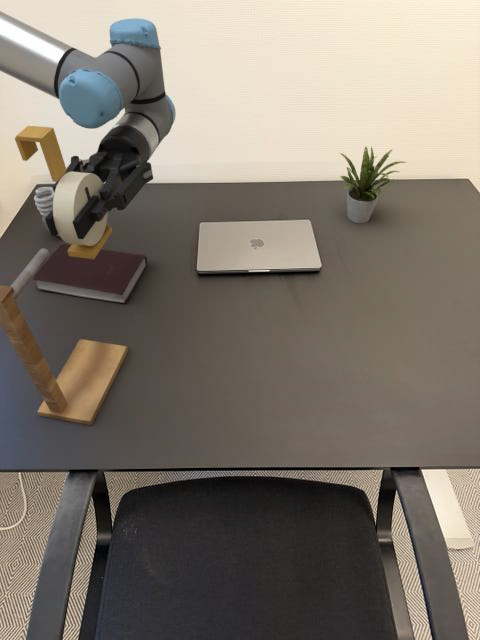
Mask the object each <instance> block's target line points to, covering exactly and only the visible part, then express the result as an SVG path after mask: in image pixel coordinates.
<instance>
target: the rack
mask: <svg viewBox="0 0 480 640" xmlns="http://www.w3.org/2000/svg"><path fill="white" fill-rule="evenodd" d="M50 256H51V253H50V251H49V250H48V249H47V248H45V247H42V248H40V249H39V250H37V252H36V254H35V255H34V256H33V257H32V258H31V260H30V261H29V263H28V264H27V265H26V266H25V268H24V269H23V270H22V271H21V272H20V274H19V275H18V276H17V277H16V278H15V280H14V281H13V282H12V284H10V286H9V285H3V284H2V285H1V284H0V325H1V327H2V329H3V331H4V333H5V334H6V336H7V338H8V340H9V341H10V343H11V345H12V347H13V348H14V350H15V352H16V353H17V356H18V358H20V360H21V362H22V365H24V368H25V369H26V371H27V373H28V375H29V376H30V377H31V380H32V381H33V383H34V385H35V387H36V389H37V390H38V392H39V394H40V395H41V398H42V399H43V401H42V403H41V404H40V406H39V408H38V410H37V413H38V415H39V416H40V417H45V418H50V419H55V420H61V421H66V422H72V423H77V424H82V425H86V426H87V425H88V426H93V424H94V422H95V420H96V418H97V416H98V415H99V412H100V410H101V408H102V406H103V404H104V402H105V399H106V397H107V395H108V393H109V392H110V389H111V387H112V385H113V384H114V381H115V379H116V376H117V375H118V372H119V371H120V368H121V367H122V364H123V362H124V361H125V358H126V356H127V354H128V352H129V347H128V346H126V345H122V344H121V345H120V344H114V343H108V342H102V341H96V340H89V339H83V338H79V340H78V342H77V343H76V345H75V347H74V348H73V350H72V352H71V353H70V355H69V357H68V358H67V360H66V362H65V364H64V365H63V367H62V369H61V371H60V372H59V374H58V375H57V377H56V378H55V375H54V373H53V371H52V370H51V368H50V366H49V364H48V362H47V359H46V358H45V356H44V354H43V352H42V350H41V348H40V346H39V344H38V343H37V340H36V339H35V336H34V334H33V333H32V330H31V328H30V327H29V325H28V323H27V320H26V318H25V317H24V315H23V313H22V311H21V309H20V307H19V305H18V303H17V301H16V300H17V299H18V297H19V295H20V294H21V293H22V292H23V291H24V289H25V288H26V287H27V285H28V284H29V283H30V281H31V280H33V277H34V275H35V274H36V273H37V272H38V270H39V269H40V268H41V267H42V265H43V264H44V263H45V262H46V261H47V260H48V259H49V257H50Z"/></svg>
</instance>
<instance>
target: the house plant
mask: <svg viewBox="0 0 480 640" xmlns="http://www.w3.org/2000/svg"><path fill="white" fill-rule="evenodd" d="M392 152H393V149H390V150H389V151H387V152H386V153H384V155H383V156H382V157H381V158H380V160H379V161H378V162H377V164H376V165H374V164H375V159H376V158H378V155H376V156H375V154H374V149H373V146H370V155H369V148H368V147H367V146H365V147H364V149H363V153H362V161H361V167H360V173H359V175H358V172H357V170H356V167H355V165H354V163H353V161H352V160H351V159H350V158H349V157H347V155H345V154H344V153H341V152H339V154H340V155H341V156H342V157H343V158H344V159H345V160H346V162H347V164H348V166H349V167H348V166H346V170H347V175H341V176H340V178H341V179H342V180H343V181H344V182H346V183H347V184H346V185H345V186H344V187H343V189H347V192H346V193H347V194H346V207H347V209H346V212H347V213H346V216H347V219H348V220H349V221H350V222H354V223H355V224H364V223H367V222H369V221H370V220H371V216H372V215H373V212H374V209H375V207H376V205H377V202H378V200H379V198H380V194H381V193H382V189H381V188H382V187H384V186H385V185H387V184H389V183H393V182H400V180H399V179H390V178H389V176H388V175H391V174H393V173H400V171H399V170H390V171H388V172H386V173H384V172H385V171H386V170H388V169H389V168H391V167H394V166H395V165H398V164H405V163H407V161H402V160H401V161H392V162H391V163H389V164H387V165H386V166H384V167H383V168H382V166H383V165H384V164H385V162H386V161H387V159H388V158H389V157H390V154H391V153H392ZM381 168H382V169H381ZM380 169H381V170H380ZM379 176H381V177H380V178H379V179H378V177H379ZM376 179H377V180H376ZM382 182H383V183H382ZM380 183H381V184H380ZM378 184H380V185H379V186H377V185H378ZM375 186H377V187H376V188H374V187H375Z"/></svg>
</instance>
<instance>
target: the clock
mask: <svg viewBox="0 0 480 640" xmlns="http://www.w3.org/2000/svg"><path fill="white" fill-rule="evenodd" d="M14 141H15V144H16V146H17V149H18V152H19V154H20V157H21V160H22V161H23V162H24V161H25V162H27V161H29V160H30V159H31V158H32V157H33V156H34V155H35V154H36V153H37V152H38V151H39V148H38V144H37V143H39V146H40V149H41V152H42V154H43V158H44V160H45V162H46V166H47V168H48V172H49V174H50V178H51V180H52V182H54V183H56V182H57V181H58V180H59V179H60V178H61V177H62V178H61V179H60V180H59V182H58V184H57V186H56V189H55V193H54V199H52V200H53V205H52V206H53V217H54V223H55V227H56V229H57V232H58V234H59V236H58V237H60V239H61V240H62V241H64V243H65V244H70V245H71V246H70V248H69V249H68V251H67V252H68V255H69V256H72V257H80V258H88V259H95V257H96V256H97V254H98V253H99V251H100V250H101V249H103V247H104V245H105V244H106V242H107V240H108V239H109V238H110V236H111V235H112V233H113V227H112V225H107V223H108V217H109V211H108V212H107V213H106V215H105V216H104V217H103V219H102V220H101V221H99V222H97V221H96V222H95V224H94V225H93V226H92V228H91V229H90V231H89V232H88V233H87V235H86V236H85V237H84V239H78V237H77V234H76V231H75V228H74V225H73V220H74V219H75V218H76V217H77V215H78V214H79V213H80V211H81V210H82V209H83V208H84V206H85V205H86V204H87V202H88V201H89V200H90V199H91V197H92V196H93V195H96V196H98V197H99V199H100V194H99V191H98V190H100V191H101V190H102V189H103V187H104V183H102V181H101V179H100V178H99V177H98V176H97V175H95V174H92V173H81V172H68V173H66V174H64V173H65V172H66V171H67V170H66V169H67V166H66V163H65V161H64V158H63V154H62V150H61V147H60V144H59V141H58V138H57V134H56V131H55V128H54V127H50V126H38V125H37V126H36V125H27V126H26V127H25V128H24V129H22V130H21V131H20V132H19V133H18V134H16V135H15V137H14ZM63 174H64V175H63Z"/></svg>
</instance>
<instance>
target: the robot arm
mask: <svg viewBox="0 0 480 640" xmlns="http://www.w3.org/2000/svg"><path fill="white" fill-rule="evenodd" d="M108 32H109V39H110V40H109V44H110V45H111V47H110V48H108V49H106V50H105V51H104V52H102V53H101V54H99V55H98V56H92V55H90V54H88V53H87V52H84V51H82V50H80V49H77V48H75V47H73V46H71V45H69V44H67V43H65V42H63V41H62V40H60V39H57V38H55V37H53V36H51V35H49V34H47V33H45V32H43V31H41V30H39V29H37V28H35V27H33V26H31V25H29V24H27V23H25V22H23V21H21V20H19V19H17V18H16V17H14V16H11V15H9V14H7V13H5V12H3V11H1V10H0V72H2V73H3V74H5V75H8V76H10V77H12V78H14V79H16V80H18V81H20V82H22V83H24V84H26V85H28V86H30V87H33V88H34V89H36V90H39V91H41V92H43V93H45V94H46V95H49V96H51V97H53V98H55V99H57V100H59V103H60V106H61V108H62V111H63V112H64V113H65V115H66V116H68V117H69V118H70V119H71V120H72V122H73V123H74V124H76V125H77V126H79V127H81V128H85V129H89V130H95V129H99V128H101V127H103V126H104V125H106V124H107V123H109V122H110V121H113V120H114V119H115V118H117V116H118V115H119V114H120V113H121V112H122V111H123V110H124V113H123V114H122V116H121V118H119V119H118V121H116V123H114V125H113V126H112V128H111V129H110V130H109V131H108V132H107V133H106V134H105V135H104V137H103V138H102V139H101V140H100V142H99V145H98V148H97V150H96V152H95V153H93V154H91V155H90V156H89V157H88V158H87V159H81V158H80V156H79V155H73V156H71V157H70V163H69V164H68V166H66V170H67V171H66V172H65V173H64V174H66V173H68V172H81V173H92V174H95V175H97V176H98V177H99V178H100V179H101V181H102V183H103V185H104V187H103V189H102V190H101V191H100V190H98V191H99V194H100V199H99V197H98V196H96V195H93V196H92V197H91V199H90V200H89V201H88V202H87V204H86V205H85V206H84V208H83V209H82V210H81V211H80V213H79V214H78V215H77V217H76V218H75V219H74V220H73V225H74V228H75V231H76V234H77V237H78V239H84V237H85V236H86V235H87V233H88V232H89V231H90V229H91V228H92V226H93V225H94V224H95V222H96V221H97V222H99V221H101V220H102V219H103V217H104V216H105V215H106V213H107V212H108V213H109V212H111V211H112V210H113V209H116V210H118V211H125V210H126V208H127V207H128V206H129V204H130V203H131V202H132V201H133V200H134V198H135V197H136V196H137V195H138V193H139V192H140V191H141V190H142V188H143V187H144V186H145V185H146V184H148V183H150V182H151V181H152V180H154V174H153V167H152V164H151V162H148V161H149V160H150V159H151V157H152V156H153V154H154V153H155V151H156V150H157V149H158V148H159V146H160V145H161V143H162V141H163V140H164V139H165V137H166V136H168V135H169V133H170V132H171V130H172V127H173V125H174V123H175V121H176V115H177V114H176V112H177V111H176V106H175V105H174V103H173V100H171V98H170V97H169V96H168V94H167V93H166V87H165V79H164V71H163V70H164V69H163V61H162V54H161V53H162V52H161V49H162V47H161V45H160V42H159V41H160V40H159V36H158V31H157V27H156V25H155V23H153V21H150V20H149V19H146V18H145V19H144V18H135V17H134V18H123V19H120V20H117V21H114V22H113V23H112V24H111V25H110V27H109V30H108ZM64 174H63V175H64ZM61 178H62V177H61ZM61 178H60V179H61ZM60 179H59V180H60ZM59 180H58V181H57V182H54V184H53V186H52V188H53V191H54V193H55V189H56V186H57V184H58V182H59ZM51 207H52V211H51V212H50V213H49V214H48V216H47V217H46V218H45V221H46V223H47V226H48V229H49V231H50V232H49V231H48V232H49V234H50V236H51V237H57V235H58V232H57V229H56V227H55V223H54V217H53V205H51Z"/></svg>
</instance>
